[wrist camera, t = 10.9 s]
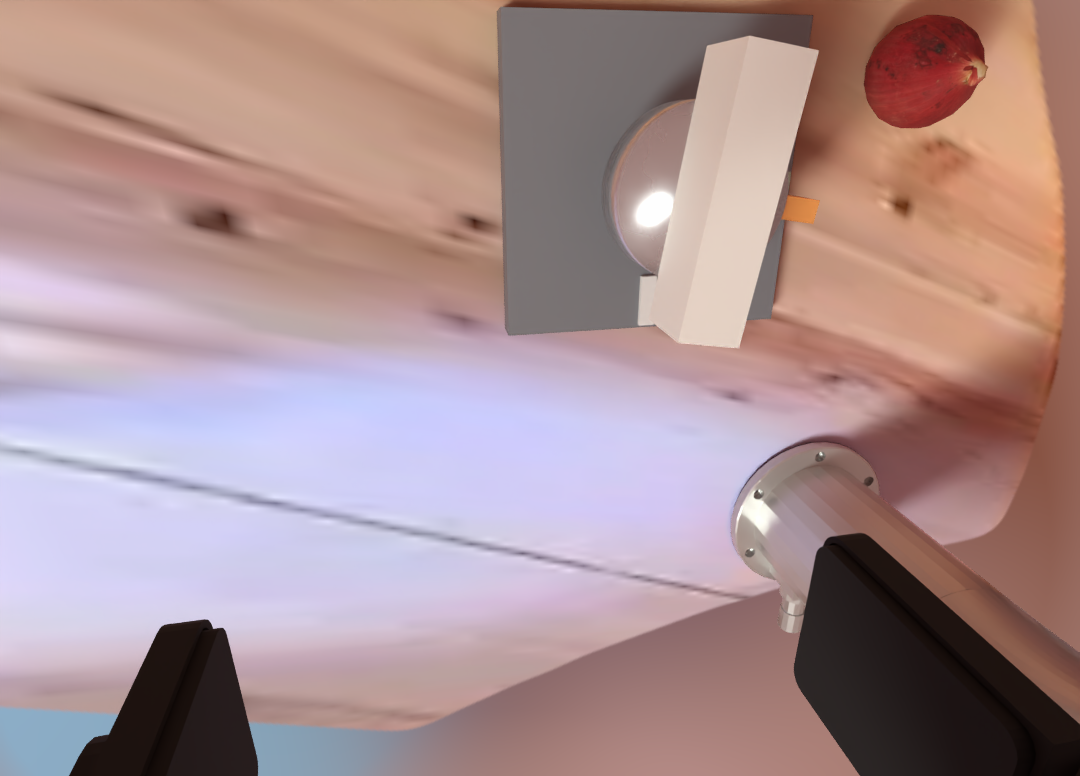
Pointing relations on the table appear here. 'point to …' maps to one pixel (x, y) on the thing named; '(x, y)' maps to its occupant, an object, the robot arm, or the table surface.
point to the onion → (924, 71)
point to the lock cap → (711, 186)
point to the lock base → (595, 151)
